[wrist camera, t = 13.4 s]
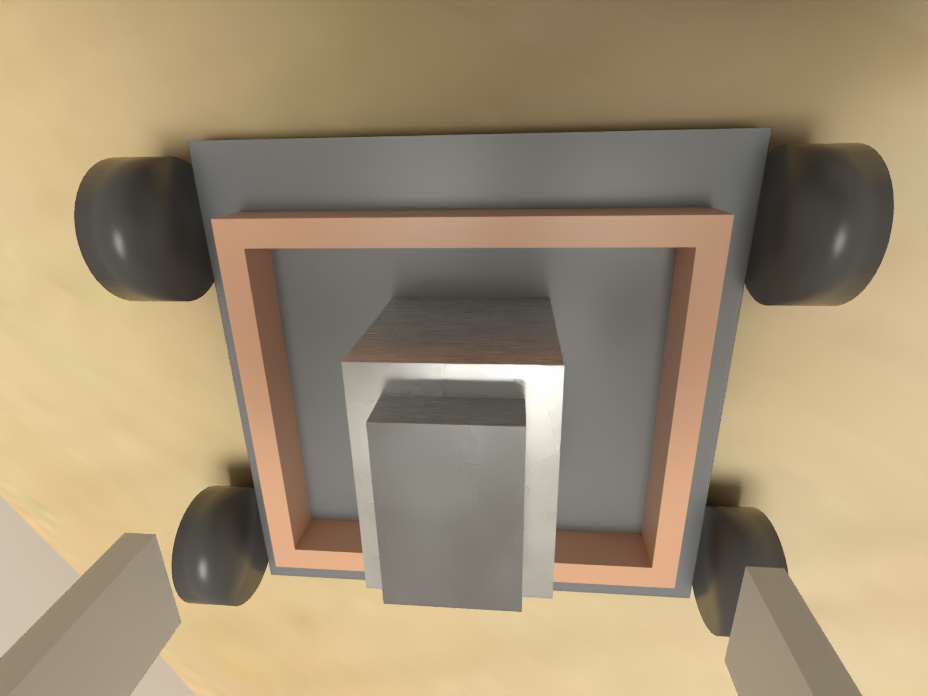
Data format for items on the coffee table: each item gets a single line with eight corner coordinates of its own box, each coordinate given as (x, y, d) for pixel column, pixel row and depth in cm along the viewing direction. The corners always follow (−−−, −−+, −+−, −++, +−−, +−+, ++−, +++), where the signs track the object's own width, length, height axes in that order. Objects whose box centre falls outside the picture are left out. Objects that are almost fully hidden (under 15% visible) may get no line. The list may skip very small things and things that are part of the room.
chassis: (155, 141, 20) (49, 142, 16) (817, 127, 18) (920, 122, 14) (243, 555, 28) (189, 638, 23) (725, 580, 25) (771, 678, 21)
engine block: (392, 296, 21) (323, 385, 13) (549, 297, 20) (570, 390, 13) (405, 472, 23) (353, 626, 16) (542, 477, 23) (555, 639, 15)
